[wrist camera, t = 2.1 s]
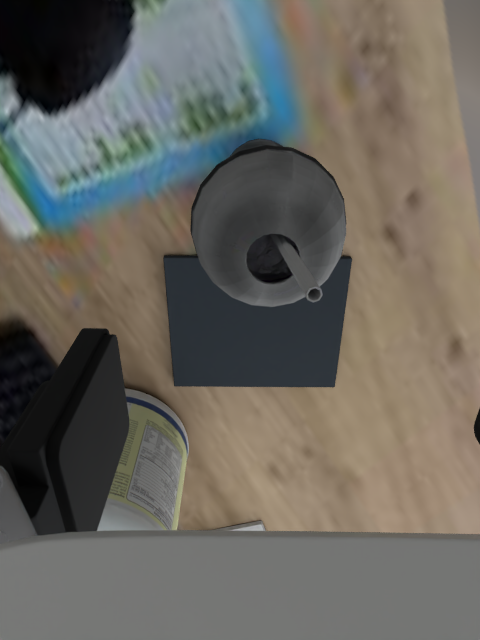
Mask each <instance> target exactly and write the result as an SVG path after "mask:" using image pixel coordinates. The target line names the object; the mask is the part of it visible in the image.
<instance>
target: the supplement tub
mask: <svg viewBox="0 0 480 640" xmlns="http://www.w3.org/2000/svg"><path fill="white" fill-rule="evenodd" d="M125 394H126V400H127V407H128V414H129V432H128V436H127V439H126V442H125V445H124V448H123V451H122V454H121V458H120V461H119V464H118V467H117V470H116V473H115V476H114V479H113V482H112V486H111V489H110V492H109V495H108V498H107V501H106V504H105V507H104V510H103V514H102V517H101V520H100V523H99V526H98V529H97V531H124V530H177V525H178V518H179V511H180V504H181V496H182V489H183V482H184V475H185V469H186V462H187V457H188V451H189V445H188V437H187V433H186V431H185V428H184V426H183V424H182V422H181V421H180V419H179V418H178V416H177V415H176V414H175V413H174V412H173V411H172V410H171V409H170V408H169V407H168V406H167V405H166V404H164V403H163V402H161V401H160V400H158V399H156V398H154V397H152V396H150V395H148V394H145V393H143V392H140V391H136V390H132V389H126V388H125Z"/></svg>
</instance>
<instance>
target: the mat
mask: <svg viewBox="0 0 480 640" xmlns="http://www.w3.org/2000/svg"><path fill="white" fill-rule="evenodd" d="M351 262H352V258H351V257H349V256H341V257H340V259H339V261H338V262H337V264H336V266H335V268H334V269H333V271H332V273H331V274H330V276H329V278H328V279H327V280H326V281H325V282H324V283H323V284H322V285H321V286H320V288H321V290H322V294H323V295H322V297H321V299H320V300H319V301H316V302H311V301H309V300H307V298H306V297H304V298H302V299H300V300H298V301H296V302H294V303H290V304H285V305H280V306H275V307H267V306H256V305H250V304H247V303H245V302H242V301H240V300H237V299H234V298H232V297H231V296H229V295H228V294H227V293H226V292H224V291H223V290H222V289H220V288H219V287H218V286H217V285H215V284H214V283H213V282H212V280H211V279H210V277H209V276H208V274H207V273H206V271H205V270H204V268H203V267H202V265H201V264H200V261H199V258H198V256H164V269H165V281H166V293H167V305H168V317H169V329H170V341H171V353H172V365H173V376H174V386H224V387H335V380H336V373H337V365H338V358H339V350H340V343H341V336H342V328H343V321H344V314H345V306H346V299H347V291H348V284H349V277H350V269H351Z"/></svg>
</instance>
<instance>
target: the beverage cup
mask: <svg viewBox="0 0 480 640" xmlns="http://www.w3.org/2000/svg"><path fill="white" fill-rule="evenodd" d="M191 235H192V238H193V242H194V245H195V249H196V252H197V255H198V258H199V261H200V264H201V265H202V267H203V268H204V270H205V271H206V273H207V274H208V276H209V277H210V279H211V280H212V282H213V283H214V284H215V285H217V286H218V287H219V288H220V289H222V290H223V291H224V292H226V293H227V294H228V295H229V296H231V297H232V298H234V299H237V300H240V301H242V302H245V303H247V304H250V305H256V306H267V307H275V306H280V305H285V304H290V303H294V302H296V301H298V300H300V299H302V298H304V297H306V298H307V300H309V301H311V302H316V301H319V300H320V299H321V297H322V295H323V294H322V290H321V288H320V286H321V285H322V284H323V283H324V282H325V281H326V280H327V279H328V278H329V276H330V274H331V273H332V271H333V269H334V268H335V266H336V264H337V262H338V261H339V259H340V257H341V254H342V250H343V245H344V241H345V236H346V215H345V205H344V198H343V196H342V194H341V192H340V190H339V188H338V186H337V183H336V181H335V179H334V177H333V176H332V175H331V174H330V173H329V172H328V171H327V170H326V169H325V168H324V167H323V166H322V165H321V164H320V163H319V162H318V161H317V160H316V159H315V158H313V157H311V156H309V155H306V154H304V153H302V152H300V151H298V150H296V149H294V148H290V147H283V146H282V145H280V144H278V143H275V142H273V141H271V140H265V139H256V140H251V141H248V142H246V143H244V144H243V145H241V146H240V147H238V148H237V149H236V150H235V151H234V152H233V154H232V155H231V156H230V157H229V158H227V159H226V160H224V161H222V162H221V163H219V164H218V165H216V167H215V168H214V169H213V170H212V172H211V173H210V174H209V175H208V176H207V178H206V179H205V180H204V181H203V182H202V184H201V185H200V187H199V190H198V193H197V195H196V198H195V200H194V203H193V206H192V211H191Z"/></svg>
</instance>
